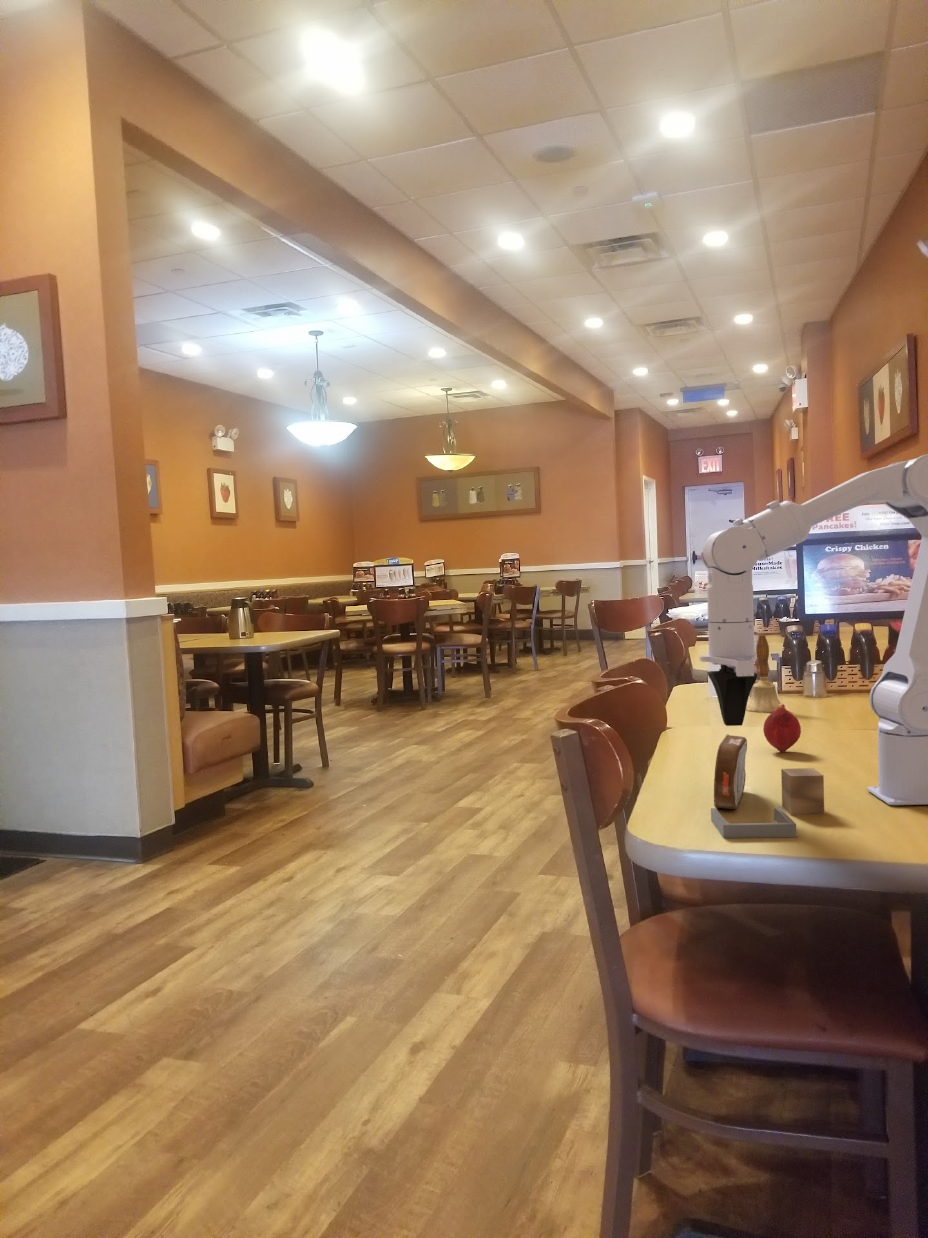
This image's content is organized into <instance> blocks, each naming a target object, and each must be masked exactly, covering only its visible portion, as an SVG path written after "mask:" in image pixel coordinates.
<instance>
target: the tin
mask: <svg viewBox="0 0 928 1238" xmlns="http://www.w3.org/2000/svg"><path fill="white" fill-rule="evenodd" d="M747 749H748V740H747V738H746V737H745V736H739V735H732V734H731V735H730V734H729V733H727V734H726V735H725V736H724V738H723V739H722V740H721V742H720V744H719V745H718V749H717V753H716V758H715V766H714V767H715V769H714V779H713V805H714V808H716V809H718V808H719V809H727V810H736V809H737V808H738V806H739V804H740V801H741V800H742V797H743V795H744V792H745V791H744V790H745V785H746V774H747V773H746V754H747Z"/></svg>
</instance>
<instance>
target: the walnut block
mask: <svg viewBox="0 0 928 1238" xmlns="http://www.w3.org/2000/svg"><path fill="white" fill-rule="evenodd" d="M780 771H781V807H782V808H783V809H784V810H785V811H786V812H787V813H788V814H789V815H790V816H825V787H824V786H825V783H824V782H825V781H824V775H823V774H822V772H819V771H818V770H817V769H815V768H814V767H812V768H811V767H810V768H809V767H808V768H781V770H780Z"/></svg>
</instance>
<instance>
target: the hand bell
mask: <svg viewBox="0 0 928 1238" xmlns="http://www.w3.org/2000/svg"><path fill="white" fill-rule="evenodd" d="M769 646H770V645H769V643H768V640H767V637H766V634H759V635H758V638H757V642H756V646H755V647H756V648H755V652H756V653H755V655H756V659H757V661H758V664H759V681H757V682H755V683H754V685H753V687H752V694H751V697H750V700H749V701H748V702H747V706H746V711H747V712H750V713H761V714H763V713H764V714H766V713H767V714H768V713H769V714H771V713H772V712H774V711H775V710H777V708H778V705H779V704H782V703H781V701H780V699H779V697H778V693H777V689H776V685H775V684H774V683H773V682H771V681H770V680H769V675H768V661H769V658H770V647H769ZM746 711H745V712H746Z"/></svg>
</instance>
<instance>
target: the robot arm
mask: <svg viewBox="0 0 928 1238" xmlns="http://www.w3.org/2000/svg"><path fill="white" fill-rule="evenodd" d="M881 503H882V504H884V505H885V506H887V508H890V509H891V510H892V511H894V512H896V513H897V514H899V515H901V516H903V517H904V518H906V519H907V520H908V521H909V522H910V523H911V525H912V526H913V527H914V528H915V529H916V531H918V532H919V533H918V534H919V535H920V536H921V539H920V544H919V549H918V554H917V556H916V562H915V566H914V569H913V570H914V571H913V573H912V579H911V584H910V587H909V591H908V595H907V600H906V605H905V609H904V613H903V616H902V622H901V625H900V627H901V628H900V631H899V634H898V639H897V642H896V643H897V644H896V647H895V652H894V653H893V655H892V656H891V657H889V659H888V660H886V662H885V664H884V665H883V668H882V672H881V675H880V676H879V678H878V680H877V681H876V682H875V683H874V685H872V687H871V690H870V692H869V696H868V697H869V705H870V707H871V711H872V712H873V713H874V714H875V715H876V717H878V722H877V723H878V724H877V760H878V762H877V766H878V767H877V769H878V771H877V772H878V773H877V774H878V779H877V780H878V782H877V783H878V786H867V788H866V790H867V791H868V792H870V793H871V794H872V795H874V796H875V797H877V798H878V799H879V800H882V801H883V802H884V803H886V804H887V805H889V806H915V805H916V806H917V805H918V806H919V805H920V806H921V805H922V806H924V805H926V806H927V805H928V453H926V454H923V455H921V456H918V457H916V458H913V459H907V460H905V461H898V462H897V461H896V462H893V463H891V464H889V465H887V466H883V467H880V468H876V469H873V470H869V471H865V472H862V473H860V474H858V475H856V476H854V477H852V478H850V479H848V480H846V481H844V482H842V483H840V484H838V485H837V486H835V487H832V488H830V489H828V490H826V491H825V492H823V493H821V494H819V495H817V496H815V497H813V498H811V499H809V500H807V501H805V502H803V503H802V504H799V503H795V502H793V501H791V500H784V501H782V502H780V501H779V500H778V499H776V500H772V501H771V502H769V503H767V504H766V505H765V506H766V509H765V510H763V511H760V512H759V513H757V514H754V515H752V516H750V517H747V518H746V519H743V518H738V519H736V520H734V521H733V522H732V525H733V526H731V527H728V528H727V529H722V530H719V531H715V532H714V533H712V534H711V535H709V536H708V538H707V540H705V542H704V544H703V547H702V551H701V552H700V558H701V561H702V563H703V565H704V566H705V568H706V569H707V588H706V590H707V621H708V622H707V623H708V624H707V627H708V654H705V655H704V654H703V655H702V654H701V655H699V661H700V662H703V663H710V664H712V665H714V666H715V665H720V668H719V669H718V670H709V671H707V676H708V677H709V679H710V681H711V683H712V685H713V687H714V690H715V693H716V696H717V700H718V705H719V709H720V714H721V717H722V718H721V719H722V722H723V724H724V725H725V726H726V727H731V726H732V727H735V726H736V727H737V726H738V727H739V726H740V727H741V726H743V723H744V721H745V716H746V706H747V704H748V702H749V698H750V694H751V691H752V690H753V685H754V684H756V681H757V680H758V673H757V672H755V663H756V661H757V654H756V653H755V623H754V622H755V619H754V611H755V610H754V585H753V568H754V567H755V566H756V564H757V562H758V561H759V562H760V561H764V560H766V559H768V558H770V557H772V556H775V555H777V554H779V553H781V552H783V551H785V550H787V549H789V548H792V547H794V546H796V545H798V544H800V543H802V542H804V541H806V540H807V539H808V536H809V535H810V531H811V529H812V527H813V526H816V525H818V524H820V523H823V522H824V521H827V520H829V519H832V518H834V517H836V516H838V515H841V514H842V513H845V512H848V511H851V510H853V509H854V508H857V507H860V506H861V505H863V504H873V505H876V504H881Z"/></svg>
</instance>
